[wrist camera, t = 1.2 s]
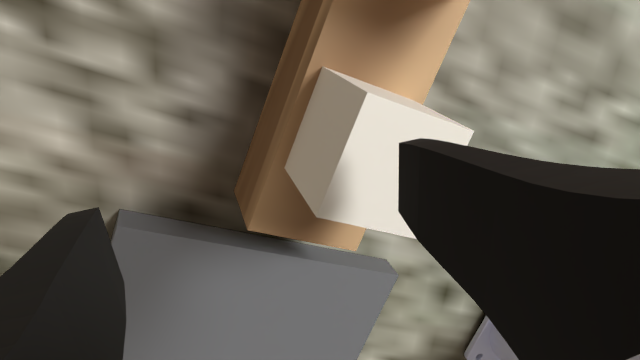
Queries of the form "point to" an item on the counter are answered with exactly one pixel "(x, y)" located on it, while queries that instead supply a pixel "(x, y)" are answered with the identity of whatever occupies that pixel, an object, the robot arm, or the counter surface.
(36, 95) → the counter surface
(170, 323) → the dock
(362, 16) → the pallet
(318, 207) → the block
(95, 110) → the counter surface
